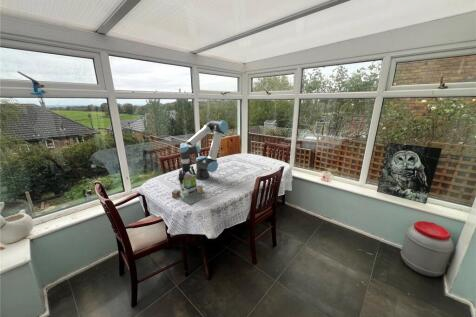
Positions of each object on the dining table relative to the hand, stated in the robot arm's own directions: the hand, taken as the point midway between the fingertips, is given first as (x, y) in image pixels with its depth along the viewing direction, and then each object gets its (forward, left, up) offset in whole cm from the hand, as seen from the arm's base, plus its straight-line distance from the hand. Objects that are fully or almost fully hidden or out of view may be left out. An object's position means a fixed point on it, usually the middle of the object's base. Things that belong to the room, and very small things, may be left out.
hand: (188, 184), depth 175 cm
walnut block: (+14, +2, -6) cm, 16 cm away
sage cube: (+8, +7, -6) cm, 13 cm away
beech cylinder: (-4, +13, -5) cm, 15 cm away
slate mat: (+7, +17, -5) cm, 19 cm away
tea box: (0, 0, -5) cm, 5 cm away
